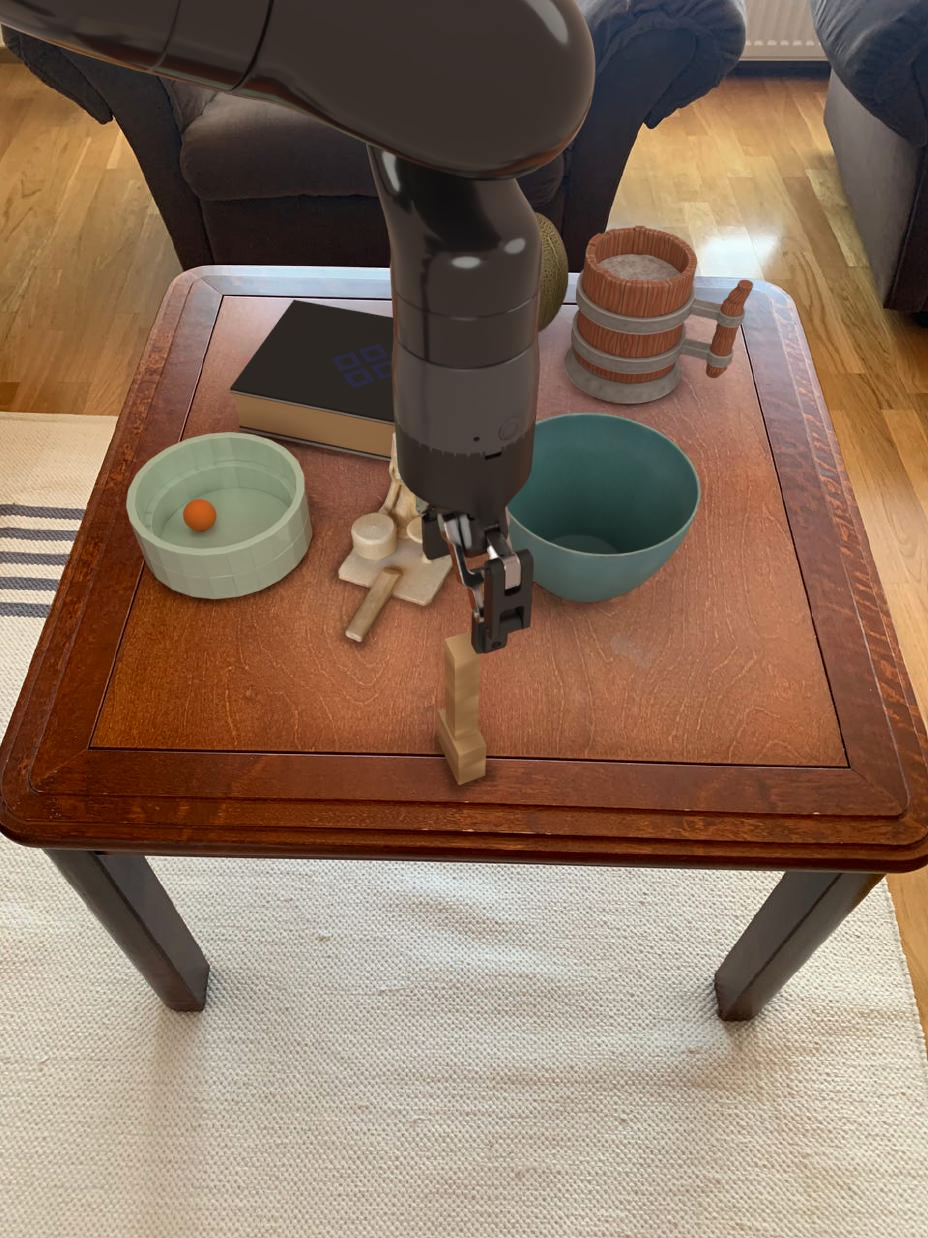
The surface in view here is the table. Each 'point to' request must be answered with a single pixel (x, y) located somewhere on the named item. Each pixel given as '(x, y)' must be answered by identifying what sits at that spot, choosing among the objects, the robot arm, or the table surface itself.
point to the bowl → (222, 514)
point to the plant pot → (602, 505)
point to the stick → (462, 710)
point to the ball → (199, 515)
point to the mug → (643, 317)
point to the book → (322, 381)
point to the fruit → (552, 273)
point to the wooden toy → (391, 556)
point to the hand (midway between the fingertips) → (463, 598)
